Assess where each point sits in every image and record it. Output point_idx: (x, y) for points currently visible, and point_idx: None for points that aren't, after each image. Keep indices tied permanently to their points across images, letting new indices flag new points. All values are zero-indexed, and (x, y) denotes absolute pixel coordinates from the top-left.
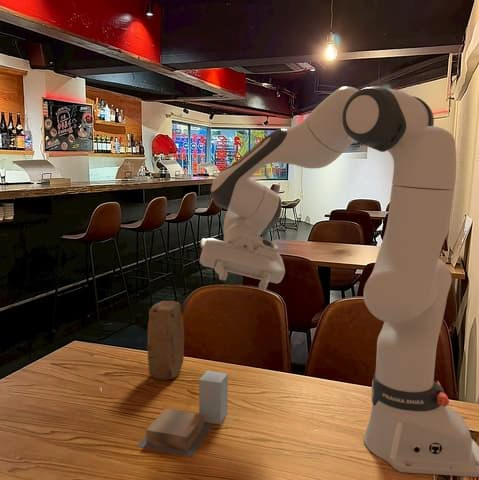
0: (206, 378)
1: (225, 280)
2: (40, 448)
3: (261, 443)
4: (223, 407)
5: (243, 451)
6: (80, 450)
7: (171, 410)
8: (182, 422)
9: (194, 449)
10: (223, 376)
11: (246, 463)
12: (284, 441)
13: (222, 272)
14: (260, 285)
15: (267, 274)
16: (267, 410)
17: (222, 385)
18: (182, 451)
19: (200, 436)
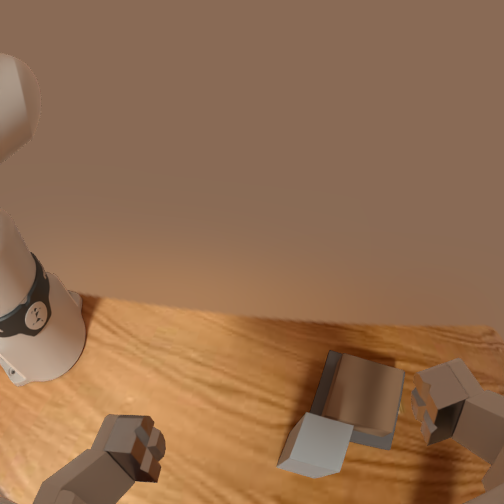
0: (338, 432)
1: (412, 404)
2: (493, 365)
3: (226, 379)
4: (288, 442)
5: (256, 363)
6: None
7: (381, 426)
8: (357, 391)
9: (328, 365)
10: (299, 442)
11: (255, 338)
12: (189, 379)
13: (460, 366)
14: (153, 442)
15: (61, 495)
16: (195, 473)
17: (300, 425)
18: None
19: (322, 397)
